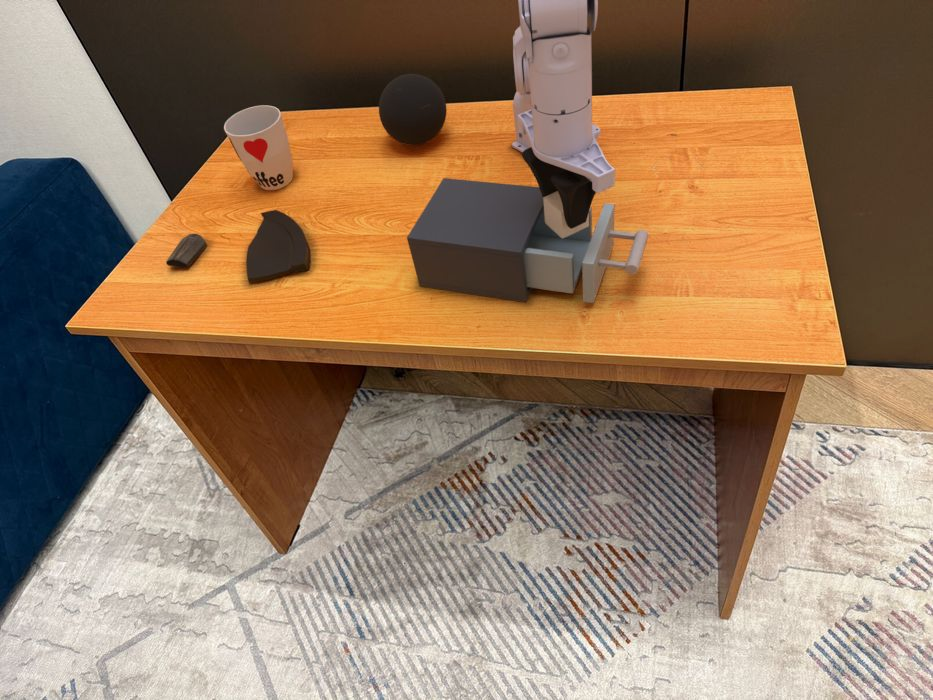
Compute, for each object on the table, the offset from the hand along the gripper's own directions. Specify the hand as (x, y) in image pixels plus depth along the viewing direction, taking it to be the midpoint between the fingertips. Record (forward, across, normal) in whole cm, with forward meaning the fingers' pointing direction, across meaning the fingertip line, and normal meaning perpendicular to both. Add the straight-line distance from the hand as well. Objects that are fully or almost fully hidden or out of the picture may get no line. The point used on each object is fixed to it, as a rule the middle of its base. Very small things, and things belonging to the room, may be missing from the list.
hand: (566, 214), depth 76 cm
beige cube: (+1, 0, 0) cm, 1 cm away
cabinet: (+9, +8, +7) cm, 13 cm away
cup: (+9, +44, +23) cm, 50 cm away
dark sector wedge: (+9, +27, +28) cm, 40 cm away
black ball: (+9, +39, +1) cm, 40 cm away
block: (+9, +34, +39) cm, 53 cm away
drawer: (+8, 0, 0) cm, 8 cm away
